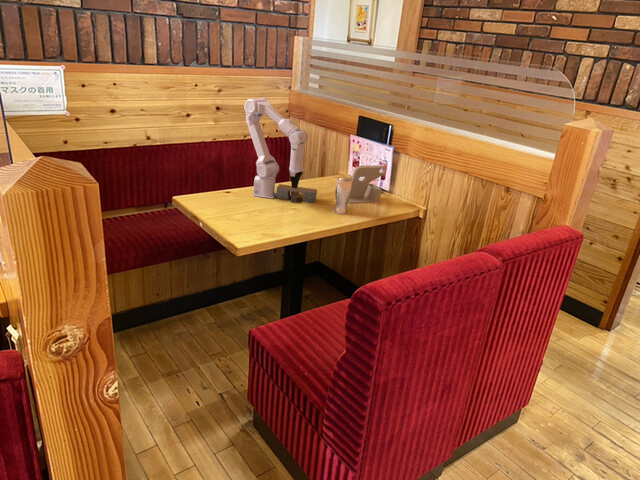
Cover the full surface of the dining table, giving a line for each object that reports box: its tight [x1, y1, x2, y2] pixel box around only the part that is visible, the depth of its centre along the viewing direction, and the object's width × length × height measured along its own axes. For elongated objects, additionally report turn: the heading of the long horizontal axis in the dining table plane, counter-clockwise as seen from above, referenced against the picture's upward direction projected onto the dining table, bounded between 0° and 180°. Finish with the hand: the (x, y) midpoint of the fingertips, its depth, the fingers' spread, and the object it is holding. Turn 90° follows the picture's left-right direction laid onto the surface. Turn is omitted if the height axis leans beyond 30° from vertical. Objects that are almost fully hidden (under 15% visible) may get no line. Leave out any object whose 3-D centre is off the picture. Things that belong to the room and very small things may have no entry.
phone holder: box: [348, 164, 387, 205], centre depth 236 cm, size 17×10×18 cm, turn 113°
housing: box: [275, 183, 318, 204], centre depth 230 cm, size 18×6×5 cm, turn 82°
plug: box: [290, 191, 301, 204], centre depth 231 cm, size 4×14×4 cm, turn 179°
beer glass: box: [333, 176, 352, 215], centre depth 218 cm, size 7×7×15 cm
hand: (294, 187), depth 222 cm, fingers closed
